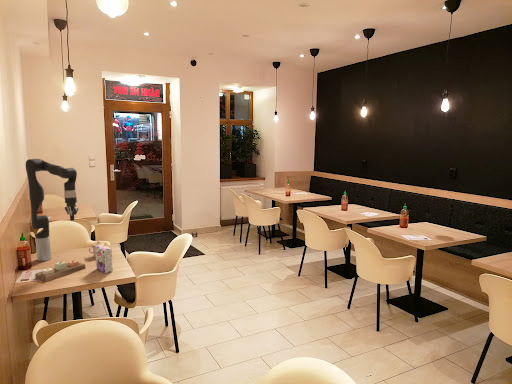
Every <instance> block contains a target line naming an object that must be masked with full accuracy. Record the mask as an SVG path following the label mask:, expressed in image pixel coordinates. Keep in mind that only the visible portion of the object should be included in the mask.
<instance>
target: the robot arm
mask: <svg viewBox="0 0 512 384" xmlns="http://www.w3.org/2000/svg"><path fill="white" fill-rule="evenodd" d="M25 171H26V176H27V180H28V181H27V182H28V189H29V190H28V191H29V201H30V210H31V212H30V213H31V214H30V217H31V218H30V219H31V220H30V221H31V227H32V229H33V230H39V229H41V230H40V231H39V232H36V233H35V235H34V238H35V252H36V253H35V254H36V260H37V262H46V261H50V260H51V259H52V250H51V240H50V238H51V237H50V220H49V217H48V215H44V214H43V215H38V211H39V209H40V207H41V205H42V204H43V202H44V200H45V193H44V192H45V191H44V188H43V186H42V185H41V183H40V182H39V180H38V178H37V173H38V172H42V171H43V172H48V173H49V174H51V175H53V176H58V177H60V178H61V179H67V181H66V182H64V183H63V189H64V192H63V193H64V204H66V206H65V207H64V210H65V211H66V214H67V215H68V216H69V220H70V222H71V221H75V215H77V213H78V211H79V208H78V207H77V203H78V200H77V191H76V183H77V182H76V181H77V175H78V173H77V170H76V168H74V167H67V168H65V167H63V166H61V165H58V164H57V165H56V164H52V163H50V162H47V161H45V160H43V159H40V158H30V159H27V160H26V161H25Z"/></svg>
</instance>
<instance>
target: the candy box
mask: <svg viewBox="0 0 512 384" xmlns="http://www.w3.org/2000/svg"><path fill="white" fill-rule="evenodd" d="M95 252H96V257H95V260H96V261H95V262H96V269H97V270H98V271H100V272H101V273H104V274H107V273H109V274H110V273H113V272H114V271H113V256H112V255H113V253H112V252H113V251H112V247H111V248H110V247H109V246H106V244H105V245H98V246H95Z"/></svg>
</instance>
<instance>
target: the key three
mask: <svg viewBox="0 0 512 384" xmlns="http://www.w3.org/2000/svg"><path fill="white" fill-rule="evenodd" d="M79 263H80V262H79V260H75V259H74V260H70V261H67V262H66V264H68V266H71V267H73V266H76V265H79Z"/></svg>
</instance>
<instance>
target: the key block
mask: <svg viewBox="0 0 512 384" xmlns="http://www.w3.org/2000/svg"><path fill="white" fill-rule="evenodd" d="M66 265H67V269H63V270H60V271H59V270H56V269H55V267H52V269H54V273H51V274H48V275H45V274H42V271H40V272H36V273H35V274H34V275H35V277H34V278H35V279H38V280H41V281H44V282H49V281H51V280H52V281H53V280H55V279H58V278H60V277H64V276H67V275H70V274H73V273H75V272H78V271H79V272H80V271H81V270H85V269H86V264H85V263H82V262H79V265H76V266H73V267H71V266H68V264H67V263H66Z"/></svg>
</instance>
